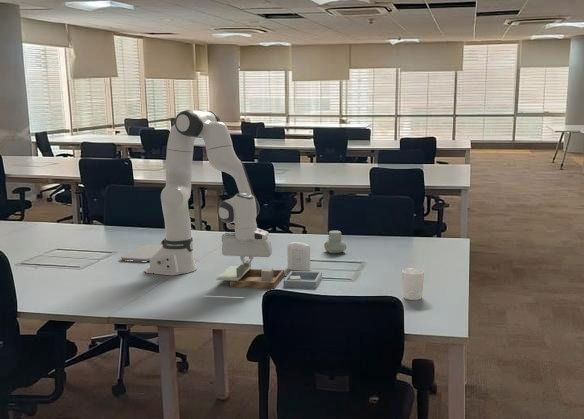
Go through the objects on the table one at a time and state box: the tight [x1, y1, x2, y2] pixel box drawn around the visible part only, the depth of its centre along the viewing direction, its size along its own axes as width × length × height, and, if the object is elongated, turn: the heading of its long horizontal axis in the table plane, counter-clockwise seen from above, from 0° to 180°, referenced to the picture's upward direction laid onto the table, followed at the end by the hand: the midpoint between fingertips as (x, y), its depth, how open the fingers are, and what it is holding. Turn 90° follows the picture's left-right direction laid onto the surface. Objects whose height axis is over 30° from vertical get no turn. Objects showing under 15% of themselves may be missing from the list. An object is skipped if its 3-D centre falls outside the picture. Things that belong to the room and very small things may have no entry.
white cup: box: [401, 268, 425, 301], centre depth 235 cm, size 8×8×10 cm
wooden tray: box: [229, 268, 286, 290], centre depth 259 cm, size 18×18×3 cm
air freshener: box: [323, 230, 347, 254], centre depth 305 cm, size 11×8×10 cm
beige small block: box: [261, 267, 274, 282], centre depth 258 cm, size 4×4×5 cm
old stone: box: [290, 276, 301, 281], centre depth 254 cm, size 4×4×3 cm
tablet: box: [120, 244, 162, 261], centre depth 309 cm, size 16×26×2 cm, turn 164°
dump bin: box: [282, 270, 323, 289], centre depth 257 cm, size 13×14×3 cm
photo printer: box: [287, 241, 311, 272], centre depth 275 cm, size 10×4×12 cm, turn 60°
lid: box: [215, 259, 252, 281], centre depth 261 cm, size 9×19×4 cm, turn 168°
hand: (247, 266), depth 259 cm, fingers closed
